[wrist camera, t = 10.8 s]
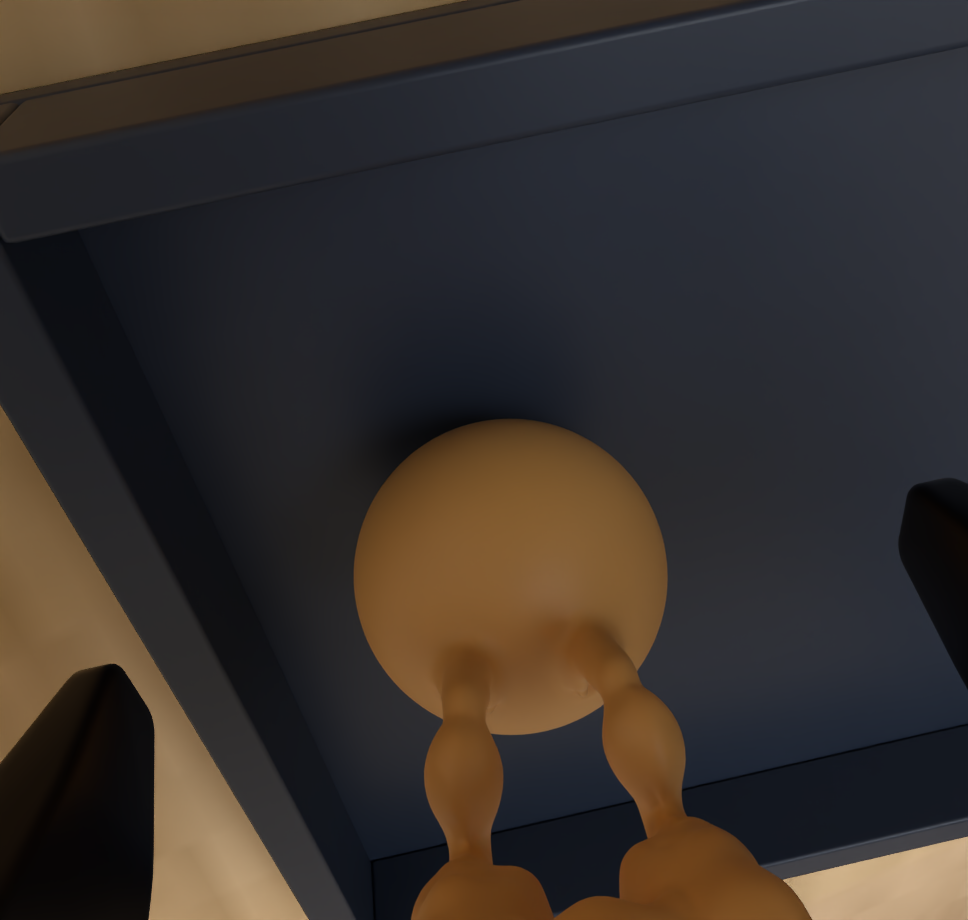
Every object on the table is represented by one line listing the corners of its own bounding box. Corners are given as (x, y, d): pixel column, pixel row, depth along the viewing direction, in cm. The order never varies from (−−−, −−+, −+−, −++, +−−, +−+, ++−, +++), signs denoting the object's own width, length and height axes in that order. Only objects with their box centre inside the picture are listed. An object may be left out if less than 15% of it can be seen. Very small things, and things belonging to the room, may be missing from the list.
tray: (1666, -243, 10) (2000, -254, 8) (1178, 671, 20) (1273, 766, 18) (-43, 102, 9) (-137, 182, 7) (342, 864, 20) (345, 983, 18)
